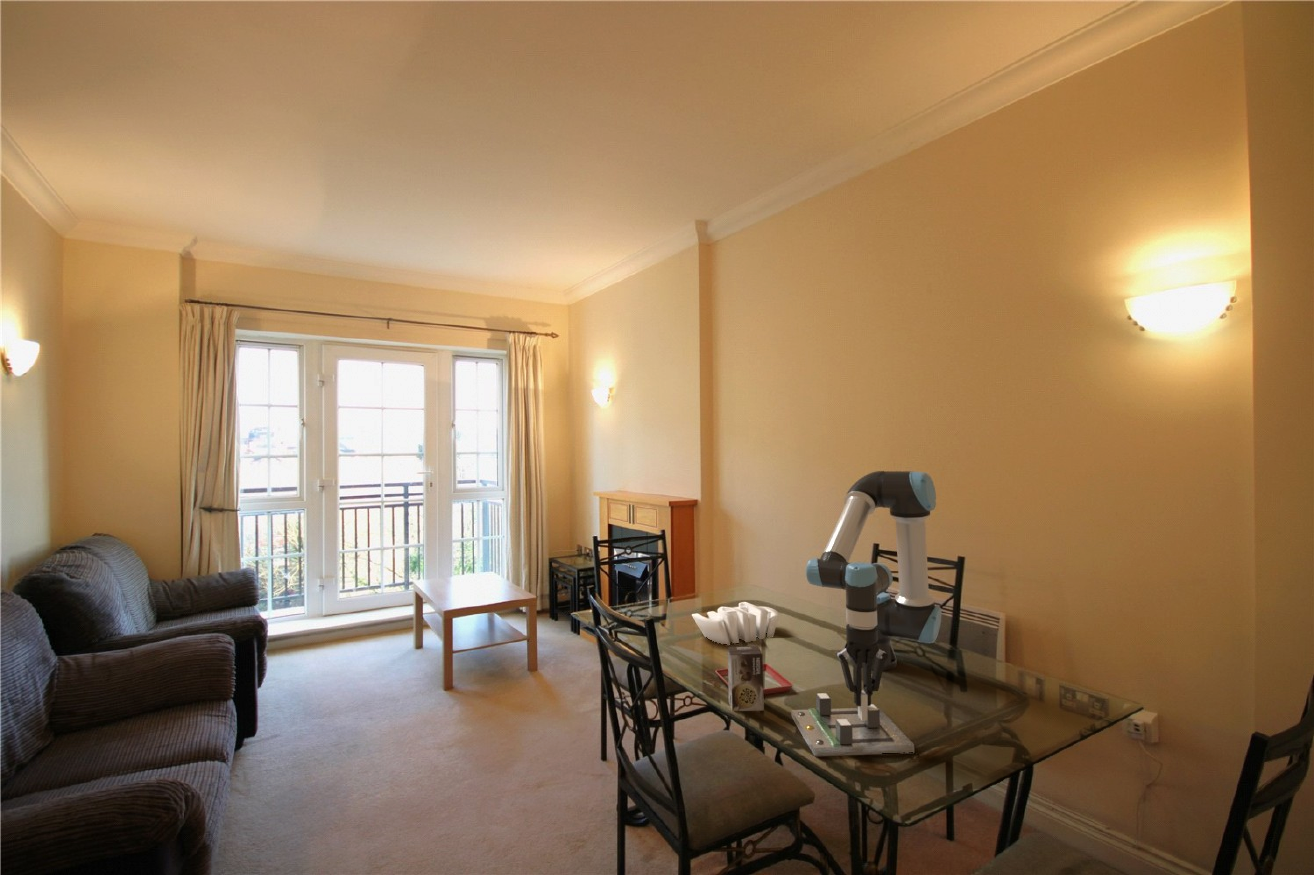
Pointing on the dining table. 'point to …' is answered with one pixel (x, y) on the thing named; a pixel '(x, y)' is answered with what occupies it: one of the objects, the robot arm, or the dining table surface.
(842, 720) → the block
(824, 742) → the slider switch panel
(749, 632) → the wavy white extrusion
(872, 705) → the block
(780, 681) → the plant saucer
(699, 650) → the dining table surface
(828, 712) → the breaker
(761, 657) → the coffee box
